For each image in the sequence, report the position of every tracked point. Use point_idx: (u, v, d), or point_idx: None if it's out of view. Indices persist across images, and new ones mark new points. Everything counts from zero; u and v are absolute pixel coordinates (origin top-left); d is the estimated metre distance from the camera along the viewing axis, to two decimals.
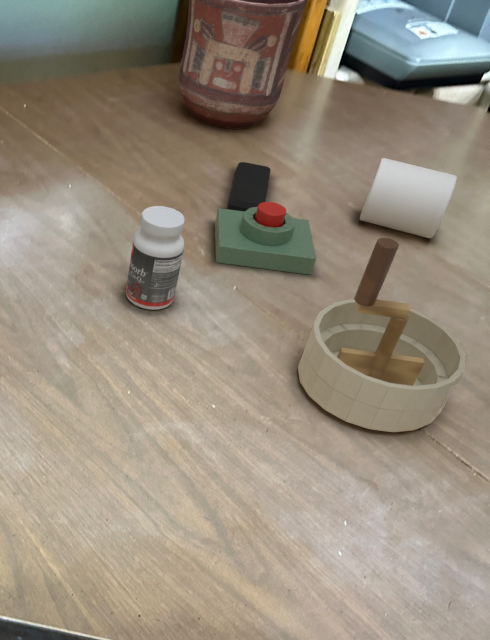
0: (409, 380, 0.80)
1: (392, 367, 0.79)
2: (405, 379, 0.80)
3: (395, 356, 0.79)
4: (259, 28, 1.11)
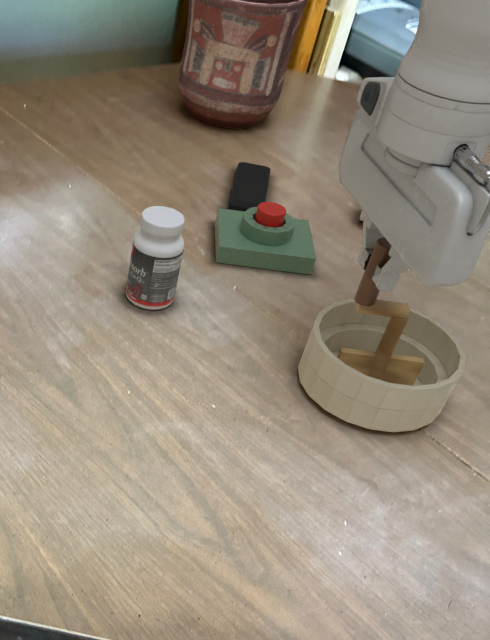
0: (409, 380, 0.80)
1: (392, 367, 0.79)
2: (405, 379, 0.80)
3: (395, 356, 0.79)
4: (259, 28, 1.11)
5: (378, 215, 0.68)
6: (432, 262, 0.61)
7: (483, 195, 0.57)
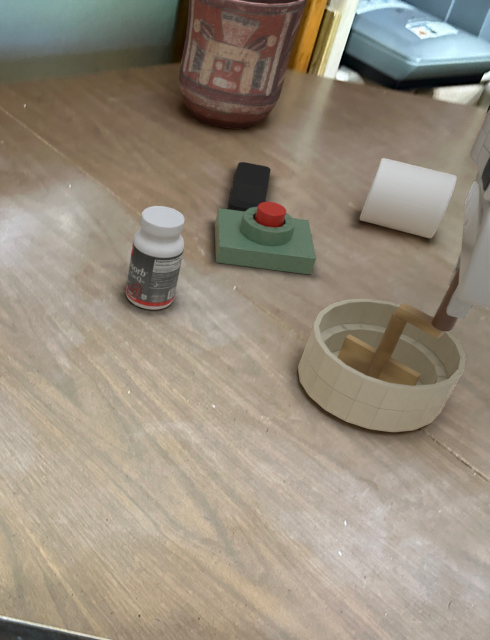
0: None
1: None
2: None
3: (371, 348, 0.79)
4: (259, 28, 1.11)
5: None
6: None
7: None
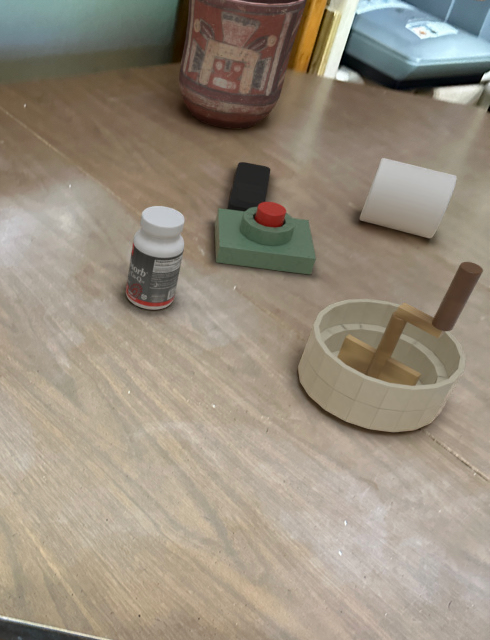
0: None
1: None
2: None
3: (371, 348, 0.79)
4: (259, 28, 1.11)
5: None
6: None
7: None
